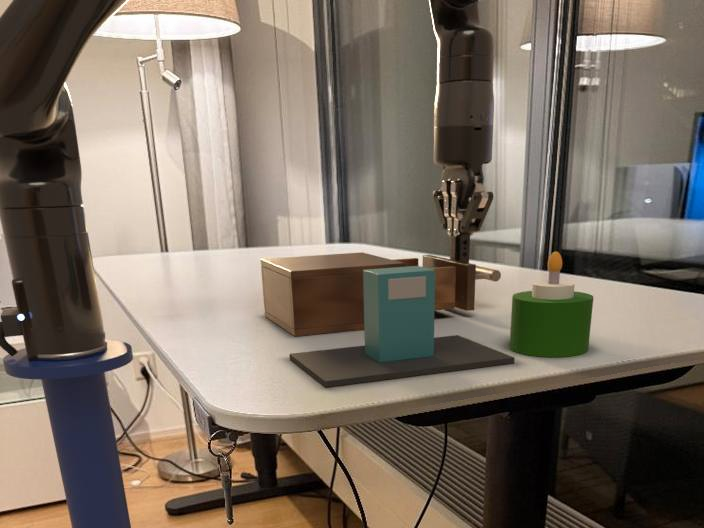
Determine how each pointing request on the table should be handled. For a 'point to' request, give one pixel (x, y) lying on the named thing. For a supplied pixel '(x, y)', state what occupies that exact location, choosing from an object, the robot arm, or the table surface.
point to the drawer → (454, 280)
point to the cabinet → (318, 291)
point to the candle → (551, 317)
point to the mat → (396, 362)
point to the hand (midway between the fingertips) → (459, 264)
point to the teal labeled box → (399, 313)
